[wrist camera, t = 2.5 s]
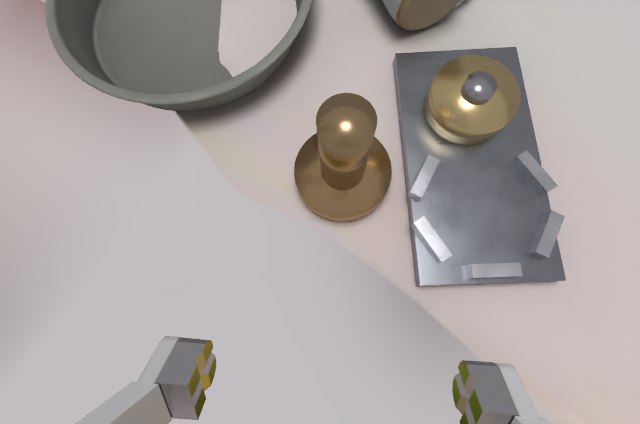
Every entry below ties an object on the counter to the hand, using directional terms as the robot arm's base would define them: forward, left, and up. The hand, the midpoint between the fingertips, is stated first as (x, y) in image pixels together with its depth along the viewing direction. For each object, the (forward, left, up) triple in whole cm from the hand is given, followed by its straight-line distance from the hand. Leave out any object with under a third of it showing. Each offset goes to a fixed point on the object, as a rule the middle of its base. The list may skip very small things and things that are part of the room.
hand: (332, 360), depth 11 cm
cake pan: (-13, +30, -16) cm, 37 cm away
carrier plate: (+12, +13, -16) cm, 24 cm away
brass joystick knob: (+1, +12, -16) cm, 20 cm away
